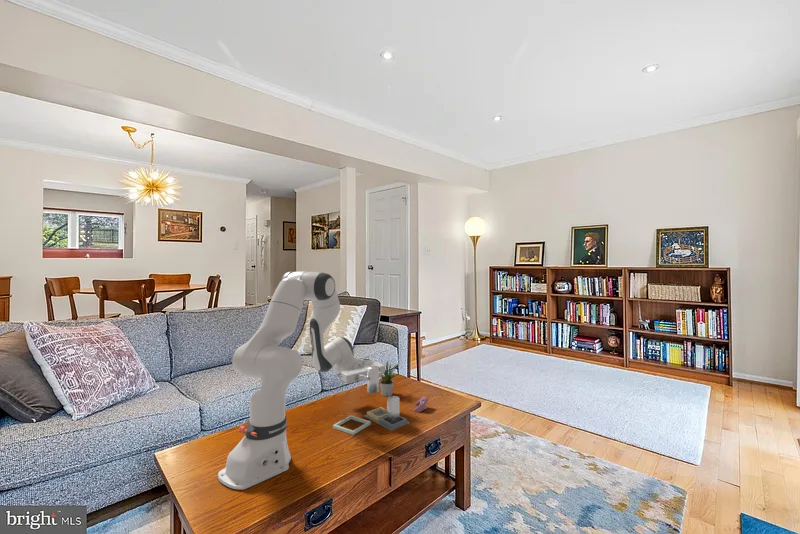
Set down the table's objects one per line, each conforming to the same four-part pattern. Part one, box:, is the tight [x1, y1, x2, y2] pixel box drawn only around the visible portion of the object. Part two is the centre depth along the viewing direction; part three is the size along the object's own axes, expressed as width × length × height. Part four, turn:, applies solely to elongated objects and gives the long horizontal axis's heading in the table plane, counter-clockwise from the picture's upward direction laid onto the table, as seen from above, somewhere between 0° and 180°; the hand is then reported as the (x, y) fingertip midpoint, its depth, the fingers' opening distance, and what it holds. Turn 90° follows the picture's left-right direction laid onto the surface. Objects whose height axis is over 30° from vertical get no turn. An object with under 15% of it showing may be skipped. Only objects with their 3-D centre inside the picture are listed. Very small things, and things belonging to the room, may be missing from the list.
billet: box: [386, 395, 401, 424], centre depth 147 cm, size 5×5×10 cm
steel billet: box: [366, 366, 380, 394], centre depth 152 cm, size 5×5×10 cm
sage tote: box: [332, 415, 372, 436], centre depth 145 cm, size 11×11×2 cm
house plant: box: [379, 360, 401, 397], centre depth 183 cm, size 14×14×16 cm
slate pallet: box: [364, 406, 411, 432], centre depth 151 cm, size 18×10×3 cm, turn 41°
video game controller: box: [412, 396, 429, 413], centre depth 162 cm, size 10×5×7 cm, turn 169°
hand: (374, 377), depth 151 cm, fingers closed on steel billet, 5 cm apart
